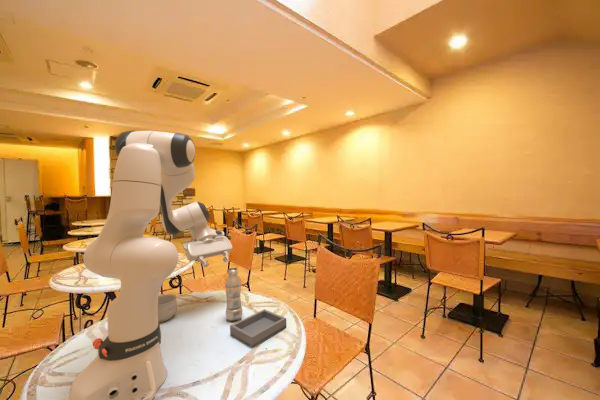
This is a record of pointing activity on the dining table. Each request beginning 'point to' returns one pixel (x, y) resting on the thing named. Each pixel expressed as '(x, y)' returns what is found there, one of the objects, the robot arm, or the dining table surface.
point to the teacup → (166, 306)
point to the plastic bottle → (233, 295)
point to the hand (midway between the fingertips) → (216, 263)
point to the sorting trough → (257, 328)
